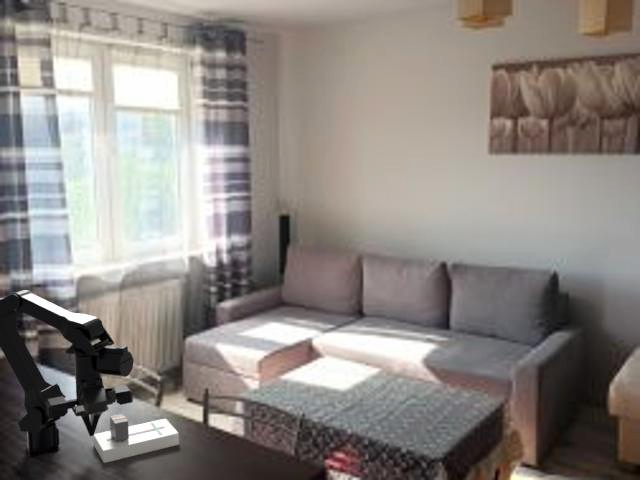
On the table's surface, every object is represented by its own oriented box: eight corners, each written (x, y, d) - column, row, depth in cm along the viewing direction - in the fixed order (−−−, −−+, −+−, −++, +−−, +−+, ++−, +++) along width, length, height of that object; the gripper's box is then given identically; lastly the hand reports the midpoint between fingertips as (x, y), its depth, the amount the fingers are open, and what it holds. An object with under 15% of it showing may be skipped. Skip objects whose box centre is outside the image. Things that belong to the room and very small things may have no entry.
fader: (115, 441, 151) (114, 423, 151) (110, 433, 156) (109, 415, 155) (128, 438, 153) (128, 420, 152) (123, 430, 157) (122, 413, 157)
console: (103, 462, 148) (103, 450, 147) (94, 445, 156) (93, 433, 156) (178, 444, 157) (178, 432, 157) (165, 429, 166) (165, 417, 165)
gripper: (51, 390, 137) (55, 459, 139) (138, 375, 147) (140, 439, 149) (43, 375, 146) (46, 439, 148) (125, 361, 156) (127, 422, 158)
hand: (91, 435), depth 151 cm, fingers closed
